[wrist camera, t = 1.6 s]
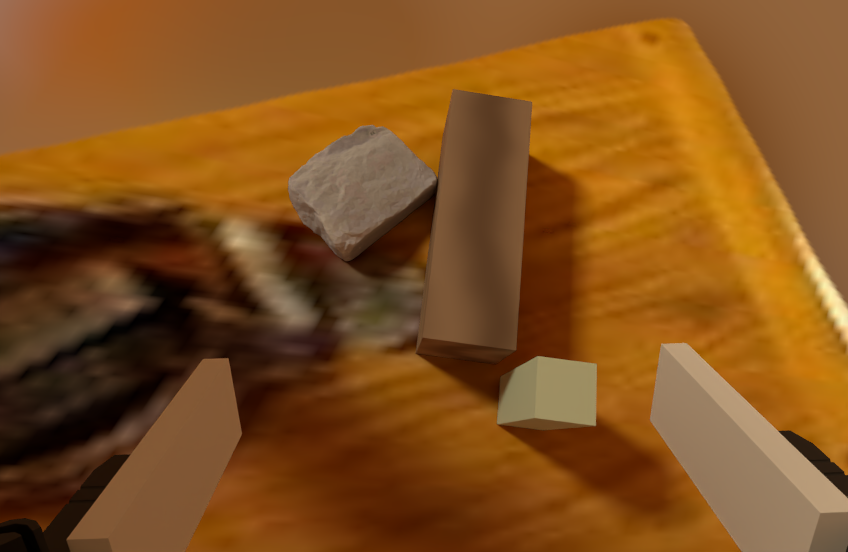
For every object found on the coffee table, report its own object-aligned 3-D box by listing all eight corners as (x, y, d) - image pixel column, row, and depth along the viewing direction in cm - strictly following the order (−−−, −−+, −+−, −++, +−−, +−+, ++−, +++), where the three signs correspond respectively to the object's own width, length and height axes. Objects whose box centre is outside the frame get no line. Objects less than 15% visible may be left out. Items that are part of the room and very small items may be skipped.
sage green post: (496, 424, 44) (534, 417, 33) (500, 376, 45) (537, 355, 35) (543, 430, 44) (595, 425, 34) (545, 382, 45) (596, 363, 35)
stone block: (283, 208, 50) (350, 274, 47) (269, 177, 46) (341, 247, 42) (376, 142, 54) (444, 198, 50) (371, 106, 50) (445, 165, 46)
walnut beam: (415, 353, 45) (422, 337, 38) (443, 134, 52) (453, 89, 45) (495, 364, 45) (516, 350, 39) (512, 145, 52) (532, 101, 46)
